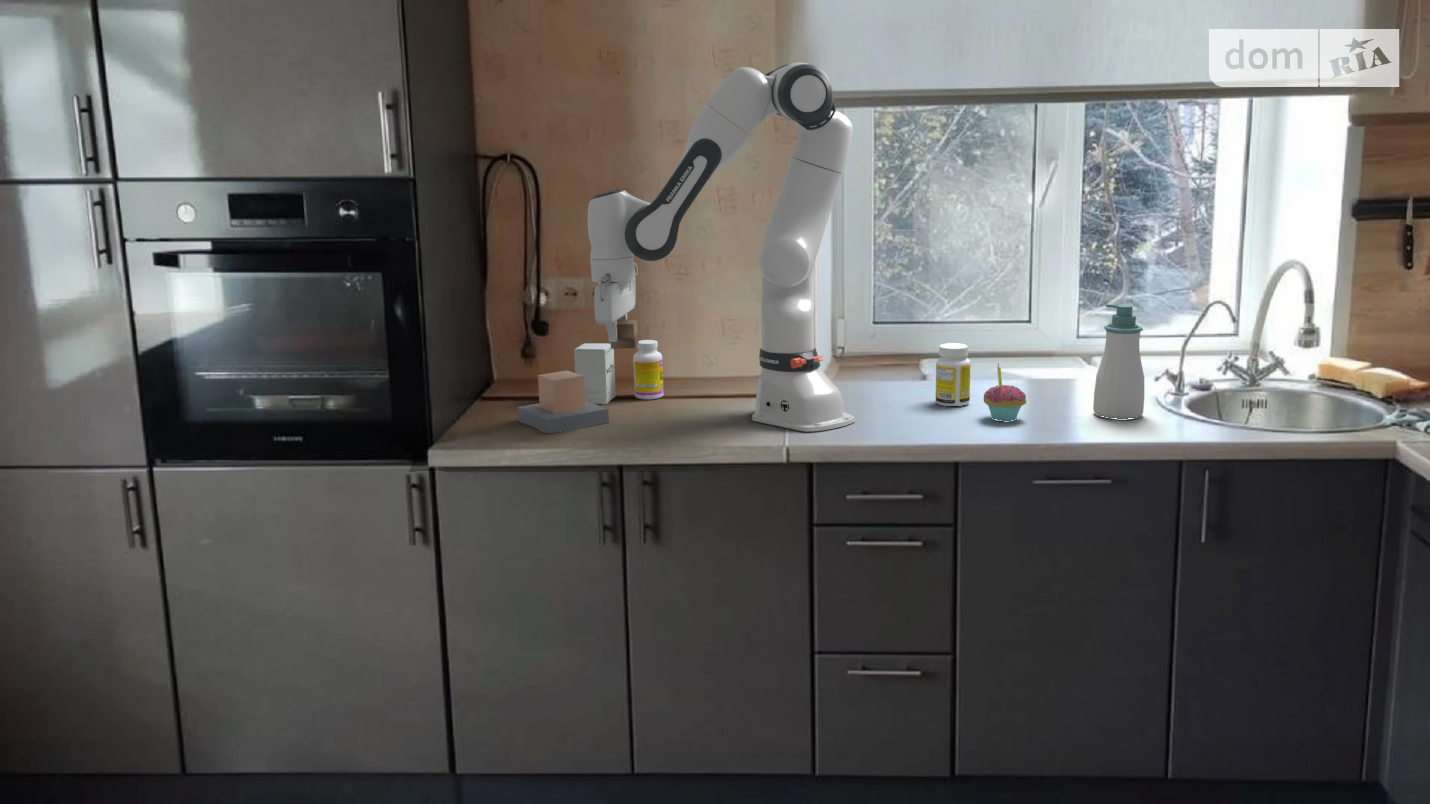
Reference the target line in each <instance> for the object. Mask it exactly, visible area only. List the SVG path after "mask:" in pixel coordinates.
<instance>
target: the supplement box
mask: <svg viewBox="0 0 1430 804" xmlns="http://www.w3.org/2000/svg"><path fill="white" fill-rule="evenodd" d="M573 353H574V373H577V374H580V375H583V376H584V394H585V401H588V402H591V403H594V404H596V405H607V404H608V403H609V402H610V401H612V400H613V399H614V398H616V376H615V373H616V372H615V371H616V370H615V350H614V349H611V343H601V342H599V343H591V342H589V343H582V344H580V345H579V346H577V347H576V348H574V350H573Z"/></svg>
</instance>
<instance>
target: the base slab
mask: <svg viewBox="0 0 1430 804" xmlns="http://www.w3.org/2000/svg"><path fill="white" fill-rule="evenodd" d="M517 420H518V422H520V423H521V424H524V423H525V424H524V425H526V426H530V427H531V426H533V427H532V428H534V427H535V428H534V429H536V428H537V429H536V430H538V429H540V430H543V431H544V432H543V431H542V432H543V433H545V432H546V433H545V434H547V433H553V434H557V433H556V432H558V433H561V432H560V431H564V432H566V431H565V430H569V431H571V430H570V429H574V430H579V429H583V428H590V427H595V426H598V425H604V424H609V423H610V421H609V420H610V419H609V409H608V408H606V407H605V406H601V405H600V404H594V403H591V402H588V401H585V409H579V410H574V411H568V412H563V413H558V414H555V413H552V412H550V411H547V410H545V409H542V408H540V402H539V403H533V404H528V405H523V406H517ZM540 430H539V431H540Z"/></svg>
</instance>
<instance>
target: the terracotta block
mask: <svg viewBox="0 0 1430 804" xmlns="http://www.w3.org/2000/svg"><path fill="white" fill-rule="evenodd" d="M537 383H538V398H539V400H538V401H539V403H540V408H542V409H545V410H547V411H550V412H552V413H555V414H558V413H563V412H568V411H574V410H579V409H585V394H584V376H583V375H580V374H577V373H575V372H573V371H569V370H563V371H557V372H549V373H544V374H543V373H542V374H538V375H537Z"/></svg>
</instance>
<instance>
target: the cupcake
mask: <svg viewBox="0 0 1430 804" xmlns="http://www.w3.org/2000/svg"><path fill="white" fill-rule="evenodd" d="M999 365H1000V364H999V363H997V367H996V370H997V381H998V385H996V386H992V387H990V388H988V389H987V390H985V391H984V394H983V403H984V404H986V405H987V406H988V410H989V413H990V415H991V416H990V417H991V419H992V418H993V419H997V420H1002V421H1011V420H1015V419H1016V420H1017V417H1018V415H1019V413H1020V410H1021V407H1022V406H1024V405H1026V404H1027V398H1026V397H1027V396H1026V393H1025V392H1024V391H1022V390H1021V389H1020V388H1018V387H1017V386H1014V385H1012V384H1011V385H1009V384H1007V385H1006V384H1004V385H1003V382H1002V371H1001V370H1002V369H1001V366H999ZM993 419H992V420H993ZM1016 420H1015V421H1016Z"/></svg>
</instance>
